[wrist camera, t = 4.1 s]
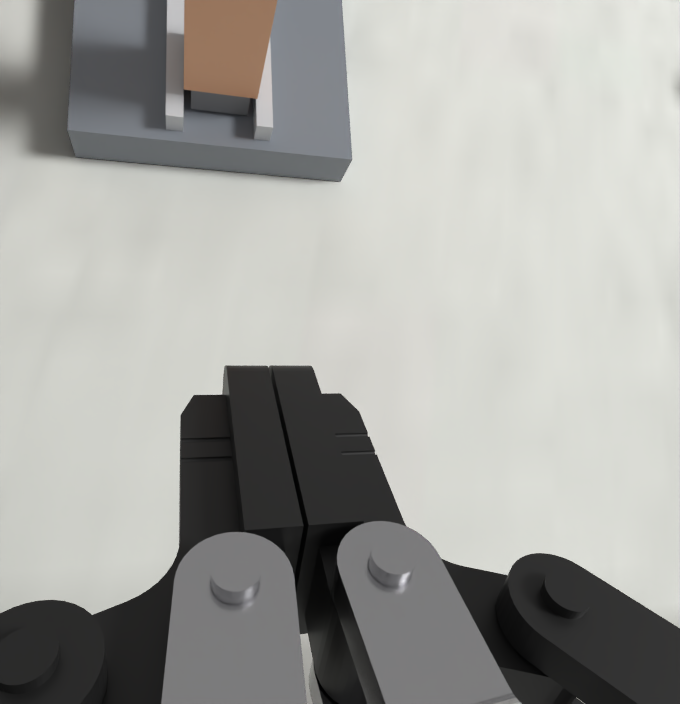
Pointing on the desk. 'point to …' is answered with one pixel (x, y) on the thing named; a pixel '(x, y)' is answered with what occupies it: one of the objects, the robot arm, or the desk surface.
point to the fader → (225, 52)
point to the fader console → (199, 125)
